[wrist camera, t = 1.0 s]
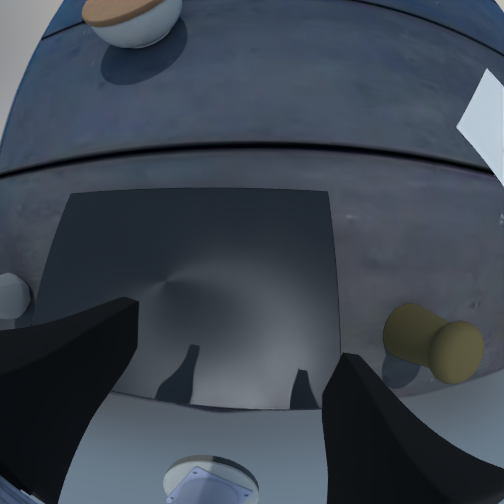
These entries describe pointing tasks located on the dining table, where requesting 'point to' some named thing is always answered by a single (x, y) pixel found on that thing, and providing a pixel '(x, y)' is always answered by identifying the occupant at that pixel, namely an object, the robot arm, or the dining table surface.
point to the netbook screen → (207, 290)
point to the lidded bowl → (131, 20)
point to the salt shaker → (13, 296)
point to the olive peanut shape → (434, 343)
